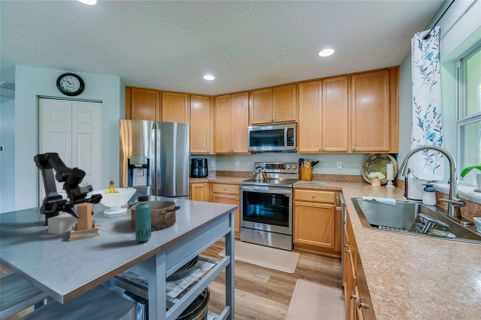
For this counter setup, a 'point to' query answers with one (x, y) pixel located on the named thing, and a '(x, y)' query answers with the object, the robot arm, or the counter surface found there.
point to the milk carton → (61, 223)
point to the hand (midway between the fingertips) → (86, 216)
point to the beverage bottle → (143, 219)
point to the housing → (84, 232)
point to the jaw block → (84, 216)
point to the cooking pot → (158, 214)
